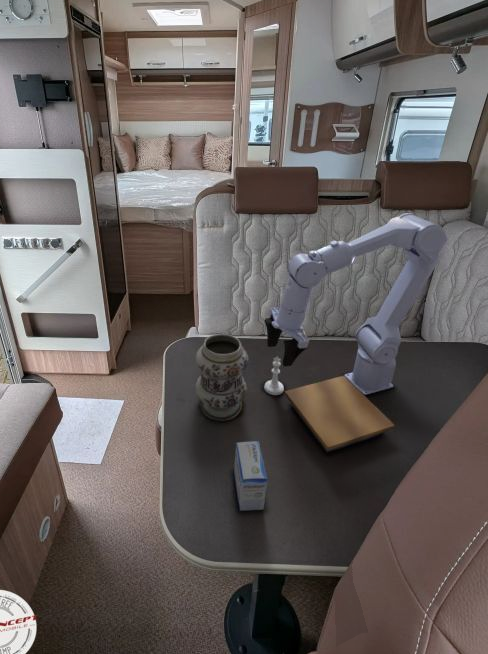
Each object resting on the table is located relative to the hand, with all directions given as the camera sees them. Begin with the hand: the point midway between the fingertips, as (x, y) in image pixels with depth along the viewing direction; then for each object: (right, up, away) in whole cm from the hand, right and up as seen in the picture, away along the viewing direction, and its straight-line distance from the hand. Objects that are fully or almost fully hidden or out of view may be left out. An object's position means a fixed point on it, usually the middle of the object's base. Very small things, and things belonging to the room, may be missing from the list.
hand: (278, 355), depth 88 cm
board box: (+12, -14, -4) cm, 19 cm away
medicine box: (-9, -22, -19) cm, 31 cm away
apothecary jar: (-14, -12, 0) cm, 19 cm away
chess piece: (0, -10, +5) cm, 11 cm away
